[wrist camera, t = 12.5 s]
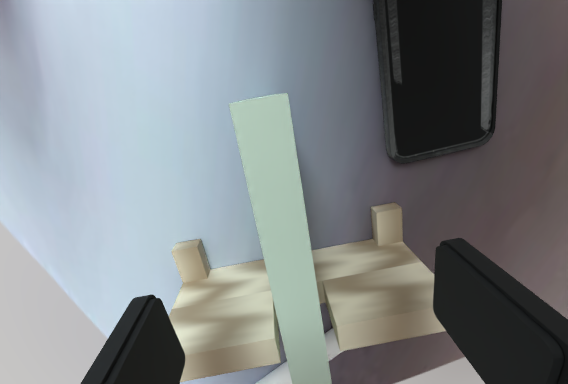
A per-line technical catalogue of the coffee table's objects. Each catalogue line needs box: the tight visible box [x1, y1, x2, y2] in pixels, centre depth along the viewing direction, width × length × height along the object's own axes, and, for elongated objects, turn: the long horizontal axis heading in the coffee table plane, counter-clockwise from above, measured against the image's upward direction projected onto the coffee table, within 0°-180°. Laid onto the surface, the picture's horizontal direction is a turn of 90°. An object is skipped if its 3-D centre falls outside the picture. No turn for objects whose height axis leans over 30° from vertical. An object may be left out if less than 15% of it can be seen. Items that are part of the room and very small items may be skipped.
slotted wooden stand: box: [169, 202, 446, 382], centre depth 19 cm, size 18×8×8 cm, turn 100°
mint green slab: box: [229, 93, 332, 384], centre depth 17 cm, size 18×2×10 cm, turn 9°
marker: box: [255, 328, 343, 384], centre depth 26 cm, size 18×2×2 cm, turn 132°
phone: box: [373, 0, 502, 163], centre depth 18 cm, size 8×1×15 cm
